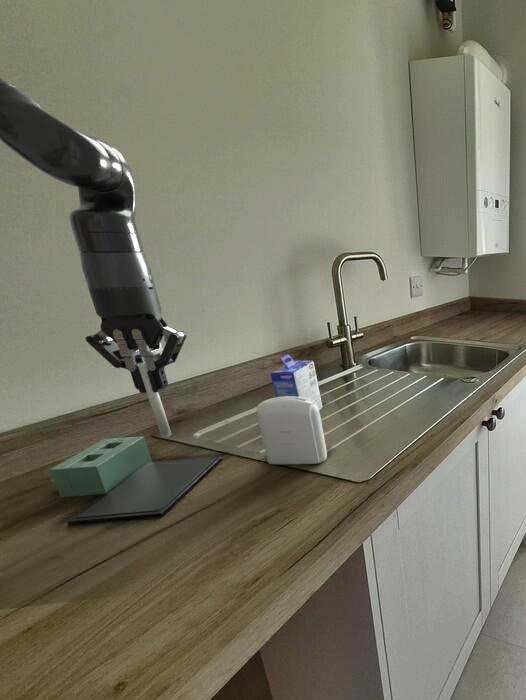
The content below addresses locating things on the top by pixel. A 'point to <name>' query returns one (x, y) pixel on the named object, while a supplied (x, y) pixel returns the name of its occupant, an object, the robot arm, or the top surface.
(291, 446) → the photo printer
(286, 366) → the ink cartridge box
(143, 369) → the stylus
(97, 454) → the pen stand
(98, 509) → the tablet
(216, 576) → the top surface
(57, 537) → the top surface
